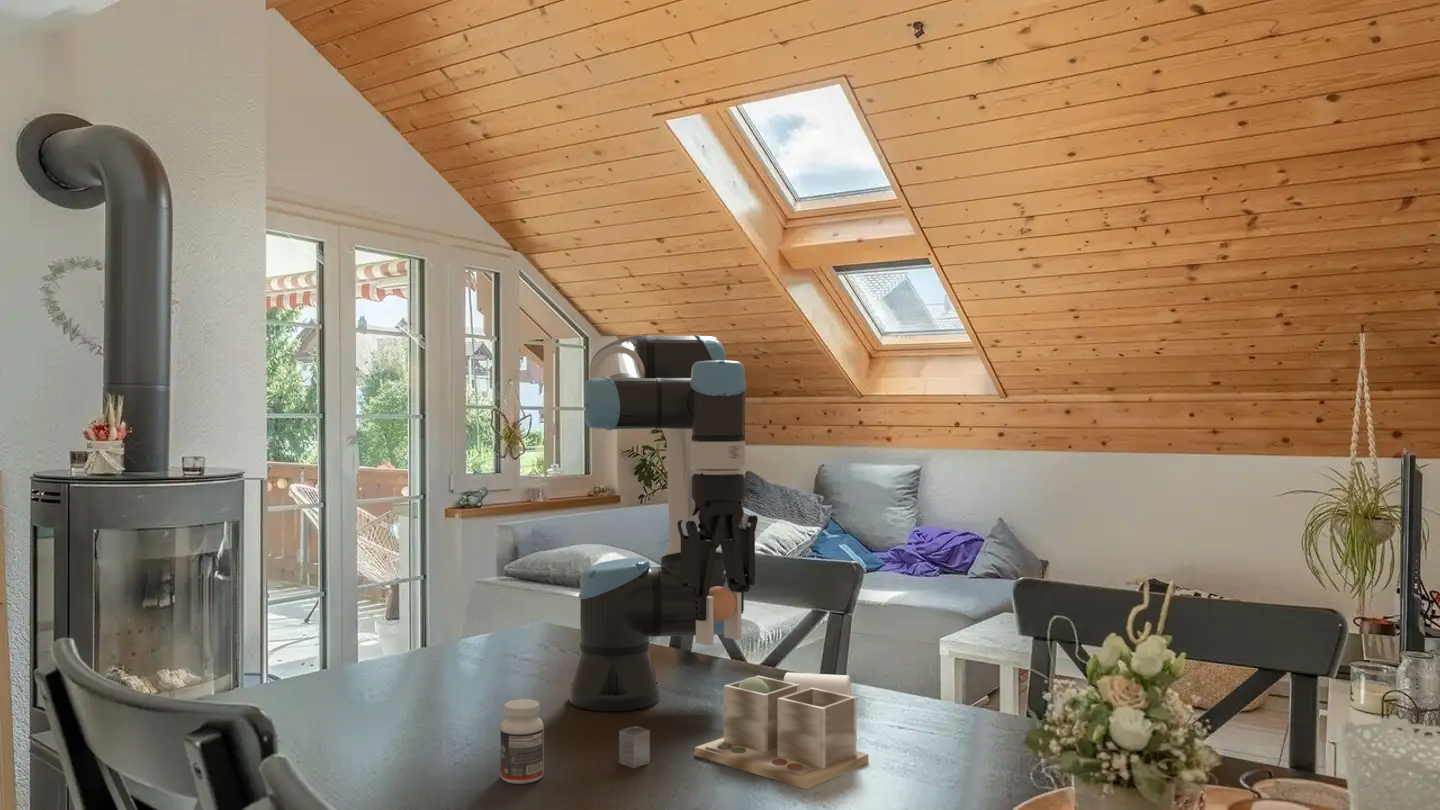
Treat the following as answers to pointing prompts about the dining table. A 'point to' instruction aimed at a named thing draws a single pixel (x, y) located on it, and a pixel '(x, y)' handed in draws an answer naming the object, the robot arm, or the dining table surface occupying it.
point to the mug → (821, 682)
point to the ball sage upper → (754, 685)
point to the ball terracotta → (722, 603)
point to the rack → (787, 733)
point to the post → (634, 746)
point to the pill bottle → (522, 742)
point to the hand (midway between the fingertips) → (718, 640)
